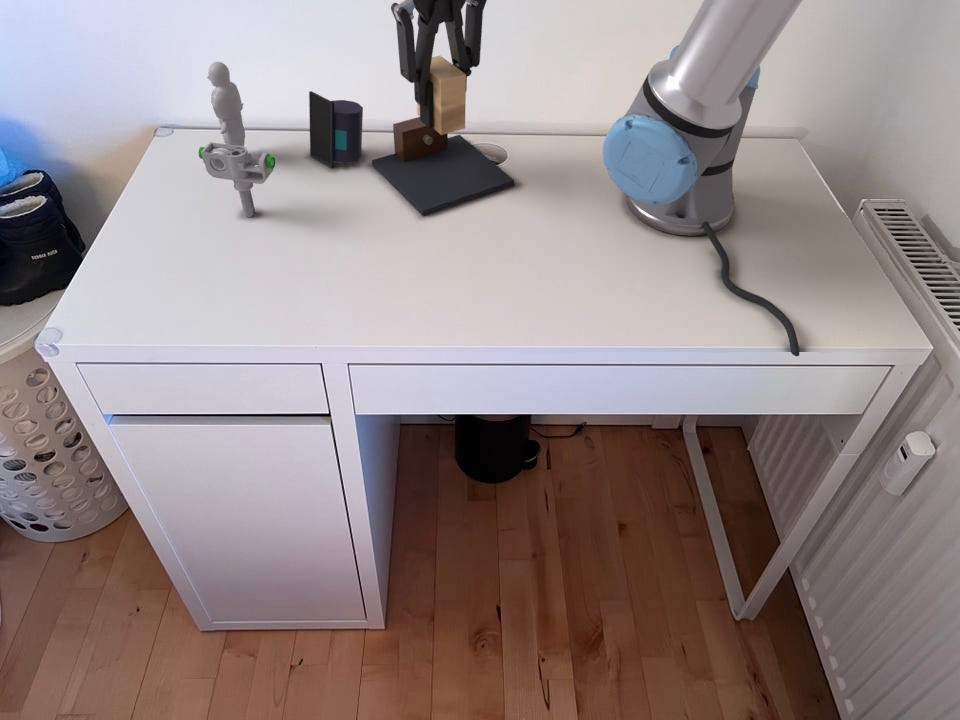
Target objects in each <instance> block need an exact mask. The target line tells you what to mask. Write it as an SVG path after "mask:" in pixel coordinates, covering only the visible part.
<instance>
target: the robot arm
mask: <svg viewBox="0 0 960 720" xmlns="http://www.w3.org/2000/svg"><path fill="white" fill-rule="evenodd" d="M487 1H488V0H404V1H402V2H401V3H398V2H393V3H392V4H391V6H390V10H391V13H392V16H393V17H394V20H395V22H396V23H395V24H396V36H397V48H398V59H399V72H400V75H401V76H402V77H403V78H404V79H405V80H407V81H408V82H409V83H410V84H413V91H414V101H415V103H416V104H417V103H418V104H419V105H420V116H419V117H420V121H421V122H423V123H424V124H425V125H426V126H427V127H428V128H433V127H434V103H433V83H432V82H431V81H429V80H428V79H429V73H430V66H431V60H432V57H433V53H434V47H435V40H436V35H437V34H438V33H439V30H440V29H439V28H440V25H441V24H443V23H444V24H445V25H444V26H445V30H446V36H447V42H448V48H449V51H450V57H451V64H453V65H454V66H455V67H457V68H458V69H459V70H461V71H462V72H463V73H465V74H466V92H467V89H468V77H470V76H471V75H472V71H473V70H472V68H477V67H478V66H479V65H480V63H481V50H482V48H481V47H482V34H483V33H482V32H483V17H484V9H485V6H486V4H487ZM802 2H803V0H703V2H702V3H701V5H700V7H699V9H698V10H697V12H696V14H695V16H694V18H693V19H692V21H691V23H690V25H689V26H688V28H687V30H686V32H685V34H684V35H683V38H682V39H681V41H680V42H679V44H678V45H676V46H674V47H673V48H672V49H671V51H670V54H669V58H667V59H664V60H660V61H657V62H656V63H654V64H653V66H652V67H651V68H650V70H649V71H648V73H647V76H646V77H645V79H644V81H643V83H642V84H641V87H640V88H639V90H638V91H637V94H636V96H635V98H634V99H633V101H632V104H631V105H630V106H629V108H628V109H627V111H626V112H625V114H624V115H623V116H621V117H620V118H618V119H616V121H615V122H614V123H613V124H612V125H611V127H610V129H609V131H608V132H607V135H606V136H605V138H604V142H603V146H602V159H603V163H604V166H605V167H606V169H607V171H608V176H609V178H610V180H611V181H612V182H613V184H615V186H616V187H617V188H618V189H619V190H620V191H621V192H622V193H623V194H625V195H626V196H627V197H626V198H627V199H626V201H627V206H628V209H629V210H630V212H631V213H632V214H633V216H635V218H637V219H638V220H639V221H641V222H642V223H643V224H645V225H647V226H648V227H651V228H653V229H656V230H657V231H661V232H664V233H667V234H672V235H679V236H705V235H706V236H707V237H708V239H709V241H710V243H711V245H712V246H713V248H714V249H715V251H716V252H717V254H718V256H719V258H720V260H721V272H720V277H721V281H722V283H723V286H725V288H726V289H728V290H729V291H730V292H731V293H732V294H734V295H736V296H738V297H740V298H742V299H745V300H747V301H750V302H752V303H755V304H757V305H759V306H761V307H763V308H764V309H765V310H767V311H768V312H769V313H771V314H772V315H773V316H774V317H775V318H776V319H777V320H778V321H779V322H780V323H781V324H782V326H783V328H784V329H785V332H786V334H787V335H786V336H787V338H788V342H789V348H790V353H791V355H793V356H794V357H799V356H800V346H799V340H798V337H797V333H796V330H795V327H794V325H793V323H792V322H791V319H789V317H788V316H787V315H786V314H785V313H784V312H783V311H782V310H780V308H779V307H777V306H776V305H775V304H773V302H771V301H769V300H768V299H766V298H764V297H762V296H760V295H758V294H756V293H753V292H750V291H747V290H745V289H743V288H741V287H739V286H738V285H736V284H734V282H733V281H732V280H731V278H730V266H731V265H730V260H729V256H728V254H727V252H726V250H725V248H724V246H723V245H722V243H721V241H720V240H719V239H718V237H717V235H716V232H717V231H719V230H721V229H723V228H724V227H726V225H727V224H728V223H730V220H731V217H732V215H733V211H734V208H735V196H734V195H735V194H734V191H733V187H734V185H733V166H734V163H735V159H736V155H737V152H738V149H739V146H740V143H741V139H742V137H743V133H744V130H745V128H746V123H747V120H748V116H749V113H750V110H751V108H752V104H753V100H754V97H755V94H756V91H757V90H758V89H759V81H760V75H761V63H762V62H763V60H764V59H765V57H767V55H768V53H769V51H770V50H771V49H772V47H773V45H774V44H775V42H776V41H777V39H778V38H779V36H780V35H781V33H782V32H783V30H784V29H785V27H786V26H787V25H788V23H789V21H790V20H791V19H792V17H793V16H794V15H795V12H796V11H797V9H798V8H799V7H800V5H801V3H802ZM464 6H465V16H464V17H465V19H464V20H463V13H462V9H463V8H464ZM414 9H415V10H416V12H417V13H418V14H417V15H418V16H417V21H416V22H417V23H416V24H417V26H418V27H417V28H418V29H417V37H416V43H415V31H414V23H413V20H414V18H415V15H414ZM463 26H464V31H463Z"/></svg>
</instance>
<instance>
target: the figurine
mask: <svg viewBox="0 0 960 720" xmlns="http://www.w3.org/2000/svg"><path fill="white" fill-rule="evenodd" d="M230 75H231V74H230V69H229V67H228V66H227V65H226V64H225V63H223V62H221V61H214V62H212V63H211V64H210V65H209V67H208V74H207V76H206V79H208V80H209V81H210V84H211V85H212V86H213V87H215V88H213V90H212V92H211V94H210V95H211V98H210V102H211V104H212V109H213V112H214V114H215V116H216V118H217V119H218V123H219V125H220V128H221V130H220V132H219V133H220V134H221V135H222V139H223V143H224V144H227V145H235V146H244V147H245V143H246V141H245V140H246V131H245V126H244V122H243V118H242V117H243V115H242V110H243V108H244V103H243V102H242V98H241V94H240V91H239V89H238V87H237V85H236V84H235V83H234V82H232V81H231V76H230Z"/></svg>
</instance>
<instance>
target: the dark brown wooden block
mask: <svg viewBox="0 0 960 720" xmlns="http://www.w3.org/2000/svg"><path fill="white" fill-rule="evenodd" d="M392 129H393V144H394V145H393V146H394V154H396V155H397V156H398V157H399V158H400V159H401V160H402V161H404V162H405V161H408V160H411V159H415V158H418V157H421V156H425V155H428V154H431V153H435V152H438V151H442V150H445V149H448V138H449V136H448V135H449V133H447V134H443V135H441V134H440V133H438V132H437V131H436V130H435V129H434V128H428V127H427V126H426V125H425V124H424V123H423V122H421V121H420V116H418V117H414V118H410V119H407V120H403V121H399V122H396V123H393V124H392Z"/></svg>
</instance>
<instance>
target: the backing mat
mask: <svg viewBox="0 0 960 720" xmlns="http://www.w3.org/2000/svg"><path fill="white" fill-rule="evenodd" d="M371 165H372V167H373V168H374V170H376V172H378V173H379V174H380V175H381V176H382V177H383V178H384V179H385V180H386V181H387V182H388V183H389V184H390V185H391V186H392V187H393V188H394V189H395V190H396V191H397V192H398V193H399V194H400V195H401V196H402V197H403V198H404V199H405V200H406V201H407V202H408V203H409V204H410V206H412V207H413V208H414V209H415V210H416V211H417V212H418V213H419V214H420V215H421V216H422V217H424V216H428V215H430V214H433V213H437V212H439V211H442V210H445V209H449V208H452V207H455V206H457V205H461V204H464V203H467V202H469V201H473V200H476V199H479V198H481V197H485V196H488V195H490V194H494V193H497V192H499V191H502V190H506V189H510V188H511V187H514V186H515V179H514V178H512V176H511V175H509V174H508V173H506V172H505V170H503V169H502V168H501V167H499V166H498V165H497V164H496V163H495V162H494V161H492V160H491V159H489V158H488V157H487V156H486V155H485V154H484V153H482V152H481V151H480V150H479V149H477V148H476V147H475V146H474V145H473V144H472V143H470V142H469V141H468V140H467V139H465V138H464V137H463V136H462V135H460V134H456V135H453V136H450V137H448V149H445V150H442V151H438V152H435V153H431V154H428V155H425V156H421V157H418V158H415V159H411V160H408V161H405V162H404V161H402V160H401V159H400V158H399V157H398V156H397V155H396V154H395V153H392V154H388V155H385V156H382V157H377V158H374V159H372V160H371Z"/></svg>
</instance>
